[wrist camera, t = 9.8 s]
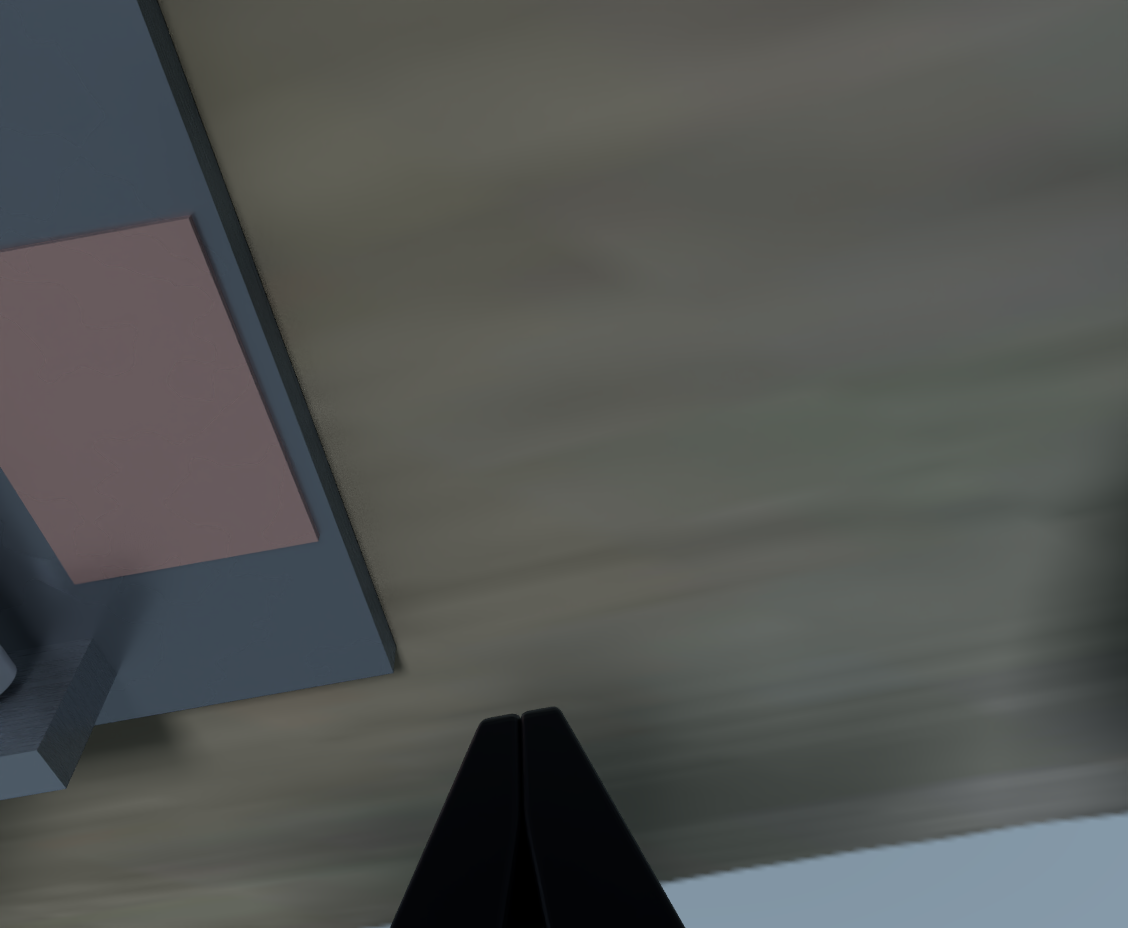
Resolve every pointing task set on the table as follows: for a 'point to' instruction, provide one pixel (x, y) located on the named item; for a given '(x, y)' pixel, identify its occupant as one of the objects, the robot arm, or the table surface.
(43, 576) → the blue-grey base plate
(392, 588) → the table surface
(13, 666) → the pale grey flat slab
